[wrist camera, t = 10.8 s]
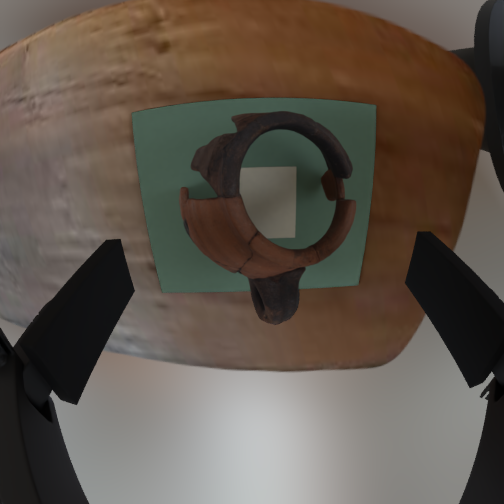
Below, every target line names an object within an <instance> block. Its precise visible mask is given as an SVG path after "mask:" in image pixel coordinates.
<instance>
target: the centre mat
mask: <svg viewBox="0 0 504 504" xmlns="http://www.w3.org/2000/svg"><path fill="white" fill-rule="evenodd" d="M277 111H289V112H294V113H298V114H303V115H305V116H307V117H309V118H311V119H313V120H314V121H315V122H318V123H320V124H321V125H323V126H324V127H326V128H327V129H328V130H330V131H331V133H332V134H333V135H334V136H335V137H336V138H337V139H338V140H339V142H340V143H341V145H342V147H343V148H344V149H345V151H346V153H347V155H348V156H349V159H350V161H351V163H352V167H353V171H352V174H351V177H350V178H349V179H343V183H344V188H345V199H351V200H355V201H356V213H355V217H354V221H353V224H352V226H351V229H350V231H349V233H348V234H347V236H346V239H345V240H344V242H343V243H342V244H341V245H340V246H339V248H338V249H336V251H335V252H333V253H332V254H331V255H330V256H329V257H327V258H325V259H324V260H322V261H320V262H319V263H317V264H314V265H310V266H307V267H305V268H306V270H305V272H304V273H303V275H302V276H301V278H300V281H299V289H308V288H325V287H340V286H355V285H358V283H359V278H360V272H361V267H362V261H363V255H364V249H365V243H366V236H367V229H368V222H369V214H370V206H371V197H372V186H373V175H374V161H375V142H376V105H372V104H364V103H356V102H347V101H337V100H324V99H307V98H244V99H227V100H214V101H204V102H195V103H186V104H179V105H172V106H165V107H159V108H154V109H148V110H143V111H138V112H133V113H132V123H133V134H134V143H135V152H136V160H137V168H138V175H139V182H140V188H141V195H142V201H143V207H144V212H145V218H146V223H147V228H148V233H149V238H150V243H151V248H152V252H153V257H154V261H155V266H156V270H157V274H158V278H159V282H160V286H161V290H162V293H167V292H236V291H251V290H250V286H249V281H248V278H247V277H246V276H244V275H243V274H240V273H238V272H237V273H232V272H230V271H228V270H226V269H224V268H222V267H221V266H219V265H217V264H216V263H215V262H213V261H212V260H211V259H210V258H208V257H207V256H205V255H204V254H203V253H202V252H201V251H200V250H199V248H198V247H197V246H196V245H195V244H194V242H193V241H192V240H191V238H190V237H189V235H188V234H187V232H186V230H185V228H184V224H183V222H184V221H183V219H182V216H181V211H180V204H179V194H180V189H181V187H187V188H188V190H189V199H190V198H194V199H206V198H215V197H217V194H216V193H215V191H214V190H213V189H212V187H211V186H210V185H209V183H208V182H207V181H206V180H205V179H204V178H203V177H202V176H201V174H200V172H198V171H194V170H192V169H191V162H192V159H193V157H194V155H195V152H196V150H197V149H198V148H200V147H202V146H205V145H207V144H208V143H209V142H210V141H211V140H212V139H214V138H215V137H217V136H220V135H223V134H227V133H236V132H237V128H236V126H235V123H234V122H232V120H231V117H232V116H235V115H240V114H244V113H266V112H269V113H270V112H277ZM327 170H328V167H327V165H326V161H325V159H324V157H323V155H322V153H321V151H320V149H319V148H318V147H317V146H316V145H315V144H314V143H313V142H312V141H310V140H309V139H308V138H306V137H304V136H303V135H301V134H299V133H296V132H294V131H290V130H272V131H269V132H266V133H264V134H262V135H260V136H259V137H258V138H257V139H256V140H255V141H254V142H253V144H251V146H250V148H249V149H248V151H247V153H246V155H245V157H244V159H243V162H242V166H241V171H240V194H241V196H242V199H243V202H244V205H245V208H246V211H247V213H248V215H249V217H250V219H251V221H252V222H253V223H254V225H255V226H256V228H257V229H258V231H260V232H261V233H262V234H263V235H264V236H265V237H266V238H267V239H268V240H270V241H271V242H273V243H275V244H277V245H278V246H281V247H284V248H287V249H304V248H307V247H308V246H310V245H313V244H315V243H316V242H317V241H318V240H320V239H321V238H322V237H323V236H324V234H325V233H326V232H327V230H328V229H329V227H330V225H331V222H332V219H333V216H334V213H335V208H336V200H335V201H329V200H328V199H327V198H326V196H325V193H324V190H323V187H322V184H321V177H322V176H323V175H324V173H325V172H326V171H327Z"/></svg>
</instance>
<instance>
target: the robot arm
mask: <svg viewBox="0 0 504 504" xmlns="http://www.w3.org/2000/svg"><path fill="white" fill-rule="evenodd" d="M405 284H406V285H407V287H408V288H409V289H410V291H411V292H412V294H413V295H414V297H415V298H416V299H417V301H418V302H419V304H420V305H421V307H422V308H423V310H424V311H425V313H426V314H427V316H428V317H429V319H430V320H431V322H432V324H433V325H434V327H435V328H436V330H437V331H438V332H439V334H440V336H441V338H442V340H443V341H444V343H445V344H446V346H447V348H448V350H449V351H450V353H451V355H452V356H453V358H454V360H455V361H456V363H457V365H458V367H459V369H460V371H461V372H462V374H463V376H464V378H465V380H466V382H467V384H468V386H469V388H472V387H474V386H477V385H479V384H481V383H483V382H484V381H485V380H486V378H487V377H488V376H489V374H490V373H491V372H493V374H494V376H495V377H494V378H493V379H492V380H491V382H490V383H489V385H488V386H487V387H486V388H485V389H484V391H483V392H482V393H481V396H480V397H481V398H482V397H483V396H484V395H485V394H486V392H487V391H489V394H488V395H487V397H486V398H485V399H486V400H488V404H487V410H486V416H485V422H484V426H483V431H482V436H481V439H480V443H479V447H478V451H477V455H476V458H475V462H474V465H473V468H472V471H471V474H470V477H469V480H468V483H467V485H466V488H465V490H464V493H463V496H462V498H461V500H460V503H459V504H504V303H503V301H502V300H501V299H499V297H498V296H497V295H496V294H495V293H494V292H493V290H492V289H490V288H489V287H488V286H487V285H486V284H485V283H484V282H483V281H482V280H481V279H480V277H478V275H476V273H475V272H474V271H472V269H471V268H470V267H469V266H467V265H466V264H465V263H464V262H463V261H462V260H461V259H460V258H459V257H458V256H457V255H456V254H455V253H454V252H453V251H452V250H451V249H449V248H448V247H447V246H446V245H445V244H444V243H443V242H442V241H441V240H439V239H438V238H437V237H436V236H435V235H434V234H432V233H431V232H420V231H418V232H417V236H416V241H415V245H414V250H413V254H412V258H411V262H410V266H409V270H408V274H407V277H406V281H405ZM134 292H135V290H134V286H133V283H132V280H131V276H130V273H129V269H128V266H127V262H126V259H125V255H124V251H123V247H122V243H121V239H112V240H106V241H105V242H104V243H103V244H102V245H101V246H100V247H99V248H98V249H97V250H96V251H95V252H94V253H93V254H92V255H91V256H90V257H89V258H88V259H87V260H86V261H85V263H84V264H83V265H82V266H81V267H80V268H79V269H78V270H77V271H76V272H75V274H74V275H73V276H72V277H71V278H70V279H69V280H68V281H67V283H66V284H65V285H64V286H63V287H62V288H61V290H60V291H59V292H58V293H57V294H56V295H55V297H54V298H53V299H52V300H51V301H49V302H48V303H47V304H45V306H44V307H43V308H42V309H41V311H40V312H39V315H37V316H36V317H35V318H34V320H33V322H31V324H30V325H29V326H28V327H27V329H26V330H25V332H24V333H23V334H22V336H21V337H20V338H19V340H18V341H17V343H16V344H15V346H14V347H12V346H11V344H10V342H9V341H8V339H7V338H6V336H5V334H4V333H3V331H2V329H1V328H0V504H89V502H88V500H87V498H86V496H85V494H84V492H83V490H82V488H81V485H80V483H79V481H78V478H77V476H76V473H75V471H74V468H73V465H72V463H71V460H70V458H69V454H68V452H67V449H66V446H65V443H64V439H63V436H62V433H61V429H60V426H59V422H58V418H57V414H56V410H55V406H54V403H53V401H52V398H51V397H50V396H49V395H50V393H51V391H52V390H53V391H54V392H55V394H56V395H57V396H58V397H59V398H60V399H61V400H63V401H66V402H69V403H72V404H75V405H77V404H78V401H79V399H80V397H81V394H82V392H83V390H84V388H85V386H86V384H87V381H88V379H89V377H90V375H91V373H92V371H93V369H94V366H95V365H96V363H97V360H98V358H99V356H100V354H101V352H102V350H103V349H104V347H105V345H106V343H107V341H108V339H109V337H110V335H111V333H112V331H113V329H114V327H115V326H116V324H117V322H118V320H119V318H120V316H121V315H122V313H123V311H124V309H125V307H126V306H127V304H128V302H129V300H130V299H131V297H132V295H133V293H134Z"/></svg>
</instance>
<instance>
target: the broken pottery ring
mask: <svg viewBox="0 0 504 504" xmlns="http://www.w3.org/2000/svg"><path fill="white" fill-rule="evenodd" d="M231 120H232V122H234V123H235V126H236V128H237V132H236V133H227V134H223V135H220V136H217V137H215V138H214V139H212V140H211V141H210V142H209V143H208V144H207V145H205V146H202V147H200V148H198V149H197V150H196V152H195V155H194V157H193V159H192V162H191V169H192V170H194V171H198V172H200V174H201V176H202V177H203V178H204V179H205V180H206V181H207V182H208V183H209V185H210V186H211V187H212V189H213V190H214V191H215V193H216V194H217V197H215V198H206V199H194V198H190V199H189V190H188V188H187V187H181V189H180V194H179V204H180V211H181V216H182V219H183V221H184V222H183V224H184V228H185V230H186V232H187V234H188V235H189V237H190V238H191V240H192V241H193V242H194V244H195V245H196V246H197V247H198V248H199V250H200V251H201V252H202V253H203V254H204V255H205V256H207V257H208V258H210V259H211V260H212V261H213V262H215V263H216V264H217V265H219V266H221V267H222V268H224V269H226V270H228V271H230V272H232V273H237V272H238V273H240V274H243V275H244V276H246V277H247V278H248V281H249V286H250V290H251V296H252V300H253V303H254V307H255V310H256V312H257V314H258V317H259V318H260V319H261V320H263V321H265V322H267V323H270V324H274V325H277V324H280V323H282V322H283V321H287V320H289V319H290V318H291V317H292V316H293V315H294V313H295V312H296V310H297V308H298V304H299V281H300V278H301V276H302V275H303V273H304V272H305V270H306V268H305V267H307V266H310V265H314V264H317V263H319V262H320V261H322V260H324V259H325V258H327V257H329V256H330V255H331V254H332V253H333V252H335V251H336V249H338V248H339V246H340V245H341V244H342V243H343V242H344V240H345V239H346V236H347V234H348V233H349V231H350V229H351V226H352V224H353V221H354V217H355V213H356V201H355V200H351V199H345V188H344V183H343V179H349V178H350V177H351V174H352V171H353V167H352V163H351V161H350V159H349V156H348V155H347V153H346V151H345V149H344V148H343V147H342V145H341V143H340V142H339V140H338V139H337V138H336V137H335V136H334V135H333V134H332V133H331V131H330V130H328V129H327V128H326V127H324V126H323V125H321V124H320V123H318V122H315V121H314V120H313V119H311V118H309V117H307V116H305V115H303V114H298V113H294V112H289V111H277V112H270V113H269V112H266V113H244V114H240V115H235V116H232V117H231ZM272 130H290V131H294V132H296V133H299V134H301V135H303V136H304V137H306V138H308V139H309V140H310V141H312V142H313V143H314V144H315V145H316V146H317V147H318V148H319V149H320V151H321V153H322V155H323V157H324V159H325V161H326V165H327V167H328V170H327V171H326V172H325V173H324V175H323V176H322V177H321V184H322V187H323V190H324V193H325V196H326V198H327V199H328V200H329V201H335V200H336V208H335V213H334V216H333V219H332V222H331V225H330V227H329V229H328V230H327V232H326V233H325V234H324V236H323V237H322V238H321V239H320V240H318V241H317V242H316V243H315V244H313V245H310V246H308V247H307V248H304V249H287V248H284V247H281V246H278V245H277V244H275V243H273V242H271V241H270V240H268V239H267V238H266V237H265V236H264V235H263V234H262V233H261V232H260V231H258V229H257V228H256V226H255V225H254V223H253V222H252V221H251V219H250V217H249V215H248V213H247V211H246V208H245V205H244V202H243V199H242V196H241V194H240V171H241V166H242V162H243V159H244V157H245V155H246V153H247V151H248V149H249V148H250V146H251V144H253V142H254V141H255V140H256V139H257V138H258V137H259V136H260V135H262V134H264V133H266V132H269V131H272Z"/></svg>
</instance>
